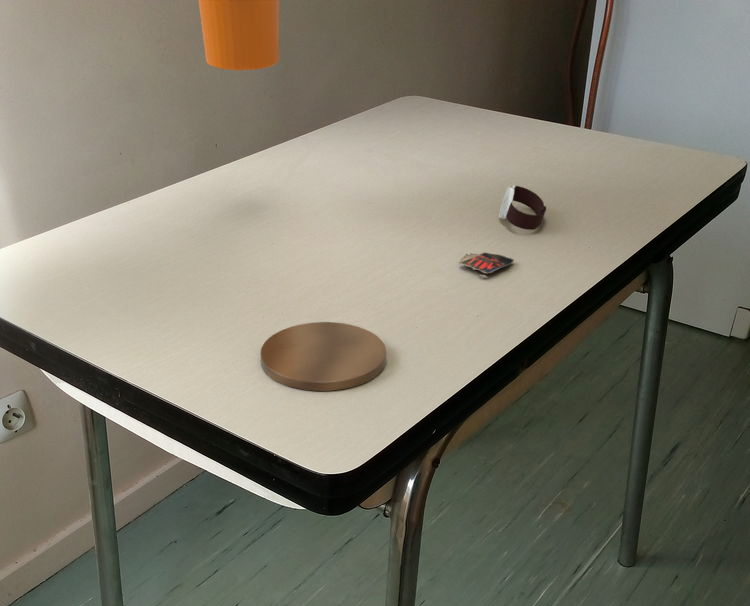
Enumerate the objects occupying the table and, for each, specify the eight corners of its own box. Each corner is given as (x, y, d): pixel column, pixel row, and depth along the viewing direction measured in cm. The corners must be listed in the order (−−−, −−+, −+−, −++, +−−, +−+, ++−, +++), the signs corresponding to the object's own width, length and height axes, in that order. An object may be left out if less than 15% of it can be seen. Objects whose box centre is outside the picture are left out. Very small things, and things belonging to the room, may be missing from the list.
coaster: (261, 393, 76) (260, 384, 76) (260, 332, 84) (260, 323, 84) (392, 388, 77) (392, 379, 76) (379, 328, 85) (380, 319, 84)
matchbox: (516, 260, 96) (516, 256, 96) (494, 280, 92) (495, 275, 92) (471, 251, 98) (471, 246, 97) (448, 270, 94) (448, 265, 94)
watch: (497, 206, 108) (500, 172, 105) (541, 207, 107) (545, 173, 105) (500, 234, 101) (503, 198, 99) (547, 235, 101) (551, 200, 99)
